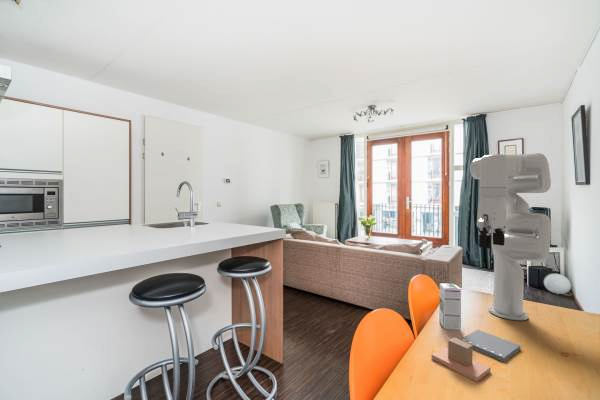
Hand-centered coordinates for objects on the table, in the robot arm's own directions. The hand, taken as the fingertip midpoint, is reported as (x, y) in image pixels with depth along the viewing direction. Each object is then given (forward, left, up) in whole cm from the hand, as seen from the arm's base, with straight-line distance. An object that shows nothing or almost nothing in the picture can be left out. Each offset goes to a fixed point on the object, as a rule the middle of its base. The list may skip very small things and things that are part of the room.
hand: (491, 246), depth 92 cm
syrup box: (+2, -12, -31) cm, 33 cm away
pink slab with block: (+23, +2, -30) cm, 38 cm away
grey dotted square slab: (+5, +2, -30) cm, 31 cm away
